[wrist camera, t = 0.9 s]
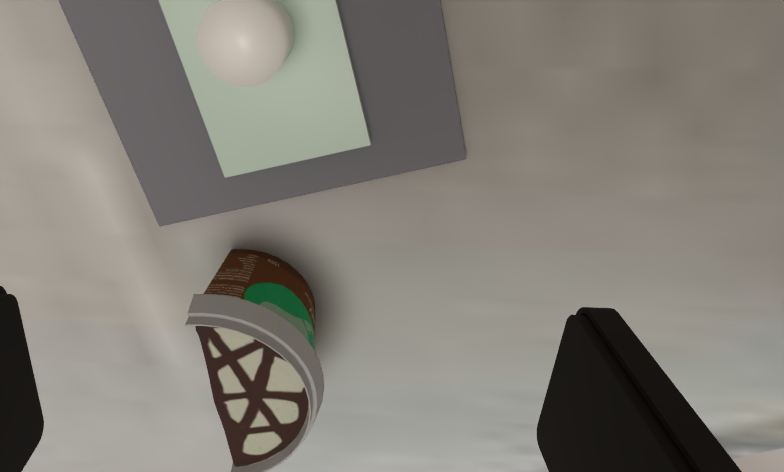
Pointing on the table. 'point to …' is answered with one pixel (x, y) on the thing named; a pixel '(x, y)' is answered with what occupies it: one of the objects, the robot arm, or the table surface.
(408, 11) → the mat
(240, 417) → the food container
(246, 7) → the lid
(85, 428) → the table surface
